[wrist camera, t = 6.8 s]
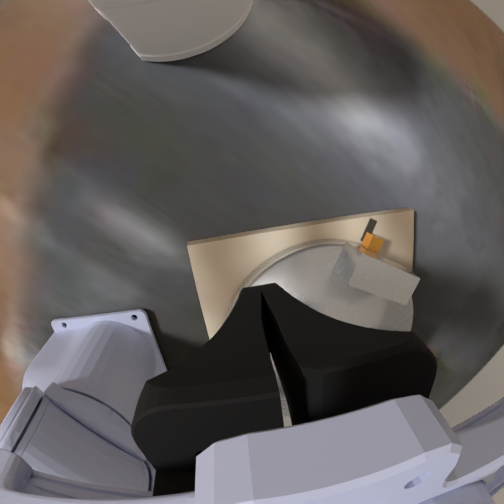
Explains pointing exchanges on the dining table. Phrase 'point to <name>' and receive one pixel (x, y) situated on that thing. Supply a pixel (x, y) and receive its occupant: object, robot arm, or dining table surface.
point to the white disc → (340, 285)
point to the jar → (174, 24)
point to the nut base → (279, 238)
